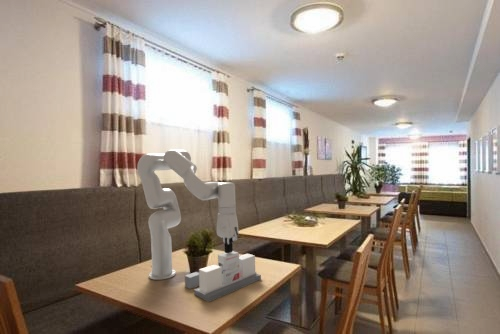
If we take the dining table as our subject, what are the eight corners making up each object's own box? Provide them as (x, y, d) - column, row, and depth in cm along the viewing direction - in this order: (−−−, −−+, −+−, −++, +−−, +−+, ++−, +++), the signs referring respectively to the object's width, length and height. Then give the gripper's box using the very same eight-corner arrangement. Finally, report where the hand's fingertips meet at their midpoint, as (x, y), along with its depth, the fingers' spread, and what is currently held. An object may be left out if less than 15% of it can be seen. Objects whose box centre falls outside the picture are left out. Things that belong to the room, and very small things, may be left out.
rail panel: (194, 294, 124) (193, 268, 124) (245, 274, 145) (245, 251, 145) (208, 301, 117) (208, 274, 117) (260, 279, 138) (260, 256, 138)
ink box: (232, 275, 136) (232, 250, 136) (240, 278, 132) (239, 252, 132) (217, 281, 130) (216, 254, 130) (225, 284, 126) (224, 256, 126)
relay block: (185, 286, 133) (184, 275, 133) (196, 282, 137) (195, 271, 137) (190, 289, 130) (189, 277, 130) (201, 284, 134) (201, 273, 134)
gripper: (209, 210, 133) (211, 251, 134) (232, 213, 123) (233, 257, 123) (222, 208, 139) (224, 247, 139) (245, 210, 128) (246, 253, 128)
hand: (228, 252), depth 131 cm, fingers closed
